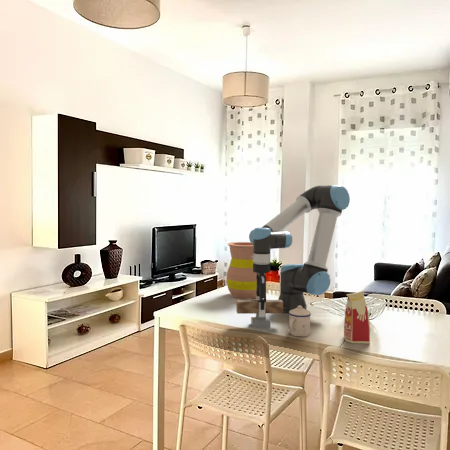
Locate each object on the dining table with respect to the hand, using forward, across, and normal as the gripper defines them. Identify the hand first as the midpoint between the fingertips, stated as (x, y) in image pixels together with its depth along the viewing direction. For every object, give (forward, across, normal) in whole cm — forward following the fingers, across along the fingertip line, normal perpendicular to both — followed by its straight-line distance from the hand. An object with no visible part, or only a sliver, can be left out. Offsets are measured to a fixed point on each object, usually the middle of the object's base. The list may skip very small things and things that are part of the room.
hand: (260, 313), depth 190 cm
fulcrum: (+5, 0, 0) cm, 5 cm away
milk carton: (+6, +19, +36) cm, 41 cm away
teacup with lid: (+6, +12, +14) cm, 19 cm away
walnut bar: (-1, 0, 0) cm, 1 cm away
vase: (+6, -58, -2) cm, 58 cm away
